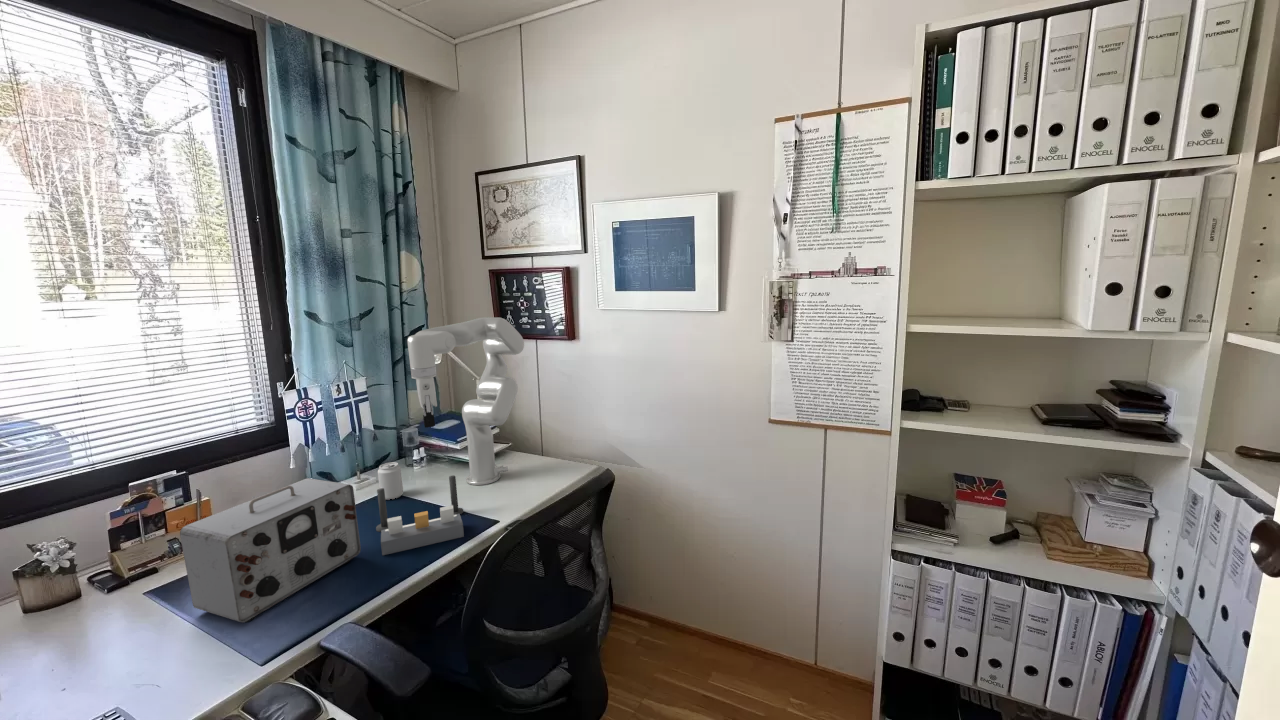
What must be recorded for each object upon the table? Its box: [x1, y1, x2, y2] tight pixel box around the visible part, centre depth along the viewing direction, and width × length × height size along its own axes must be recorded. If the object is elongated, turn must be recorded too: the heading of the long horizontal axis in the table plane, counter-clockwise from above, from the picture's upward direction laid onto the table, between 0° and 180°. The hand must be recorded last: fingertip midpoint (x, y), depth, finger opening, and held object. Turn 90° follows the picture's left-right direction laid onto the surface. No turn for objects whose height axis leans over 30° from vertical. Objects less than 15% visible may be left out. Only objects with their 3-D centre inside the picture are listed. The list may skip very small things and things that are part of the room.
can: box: [377, 461, 404, 501], centre depth 183 cm, size 8×8×12 cm
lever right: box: [439, 504, 454, 523], centre depth 152 cm, size 4×1×6 cm, turn 116°
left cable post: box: [375, 488, 388, 533], centre depth 158 cm, size 5×5×13 cm
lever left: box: [387, 515, 403, 535], centre depth 146 cm, size 4×1×6 cm, turn 116°
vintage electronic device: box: [179, 477, 362, 623], centre depth 129 cm, size 32×18×25 cm, turn 160°
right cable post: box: [448, 475, 464, 515], centre depth 167 cm, size 5×5×13 cm
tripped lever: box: [414, 510, 430, 529], centre depth 149 cm, size 4×1×6 cm
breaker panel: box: [380, 514, 465, 556], centre depth 151 cm, size 22×8×4 cm, turn 116°
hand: (429, 426), depth 169 cm, fingers closed
